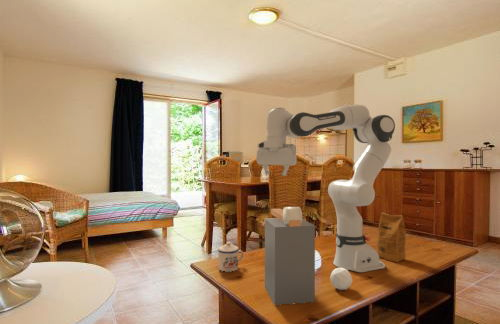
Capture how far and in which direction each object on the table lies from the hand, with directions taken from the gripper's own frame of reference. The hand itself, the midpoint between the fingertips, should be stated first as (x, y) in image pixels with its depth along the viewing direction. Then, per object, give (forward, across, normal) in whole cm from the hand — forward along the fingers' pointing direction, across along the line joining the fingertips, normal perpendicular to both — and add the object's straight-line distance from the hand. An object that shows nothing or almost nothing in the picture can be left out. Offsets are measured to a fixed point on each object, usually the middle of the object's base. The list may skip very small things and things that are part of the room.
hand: (275, 175), depth 129 cm
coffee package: (+41, -35, -49) cm, 73 cm away
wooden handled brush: (+15, -16, +15) cm, 26 cm away
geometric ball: (+41, -32, 0) cm, 52 cm away
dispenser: (+42, -20, +17) cm, 49 cm away
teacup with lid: (+42, +14, +13) cm, 46 cm away
